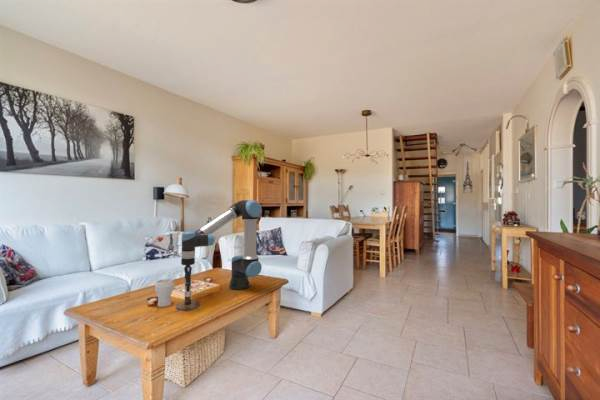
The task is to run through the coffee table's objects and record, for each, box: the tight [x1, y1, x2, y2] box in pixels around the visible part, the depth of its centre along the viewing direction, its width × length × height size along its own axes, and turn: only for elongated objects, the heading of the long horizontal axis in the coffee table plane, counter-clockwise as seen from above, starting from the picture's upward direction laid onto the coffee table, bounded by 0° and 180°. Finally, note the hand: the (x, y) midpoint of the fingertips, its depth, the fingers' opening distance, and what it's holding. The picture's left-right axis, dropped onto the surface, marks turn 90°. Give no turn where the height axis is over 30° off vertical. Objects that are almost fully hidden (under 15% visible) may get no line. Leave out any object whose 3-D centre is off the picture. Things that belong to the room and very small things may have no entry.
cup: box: [154, 278, 175, 308], centre depth 173 cm, size 11×11×15 cm
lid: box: [175, 291, 200, 312], centre depth 170 cm, size 13×13×8 cm
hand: (187, 293), depth 170 cm, fingers open, 13 cm apart
